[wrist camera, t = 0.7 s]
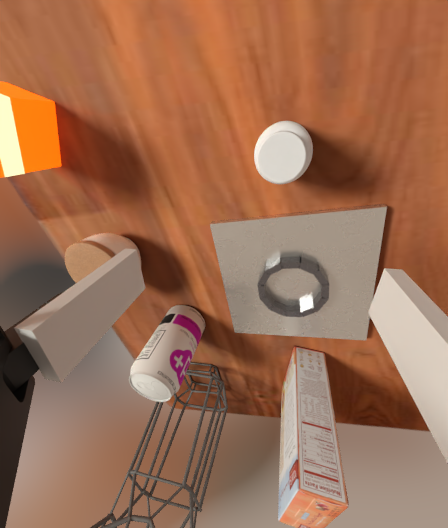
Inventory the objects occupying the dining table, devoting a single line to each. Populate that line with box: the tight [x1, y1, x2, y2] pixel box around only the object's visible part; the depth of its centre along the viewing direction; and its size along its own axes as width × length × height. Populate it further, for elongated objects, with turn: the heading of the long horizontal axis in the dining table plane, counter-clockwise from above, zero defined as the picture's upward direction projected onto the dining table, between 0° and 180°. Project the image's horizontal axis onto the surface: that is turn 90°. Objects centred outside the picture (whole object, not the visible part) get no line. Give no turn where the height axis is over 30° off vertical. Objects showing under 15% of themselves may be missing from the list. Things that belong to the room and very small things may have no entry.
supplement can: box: [129, 305, 206, 402], centre depth 40 cm, size 8×8×15 cm
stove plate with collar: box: [210, 204, 387, 340], centre depth 35 cm, size 22×22×3 cm
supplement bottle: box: [254, 121, 313, 184], centre depth 23 cm, size 5×5×10 cm
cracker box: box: [278, 346, 348, 528], centre depth 37 cm, size 14×6×21 cm, turn 178°
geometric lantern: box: [91, 362, 228, 528], centre depth 41 cm, size 16×16×35 cm
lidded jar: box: [65, 233, 141, 283], centre depth 38 cm, size 11×11×9 cm
